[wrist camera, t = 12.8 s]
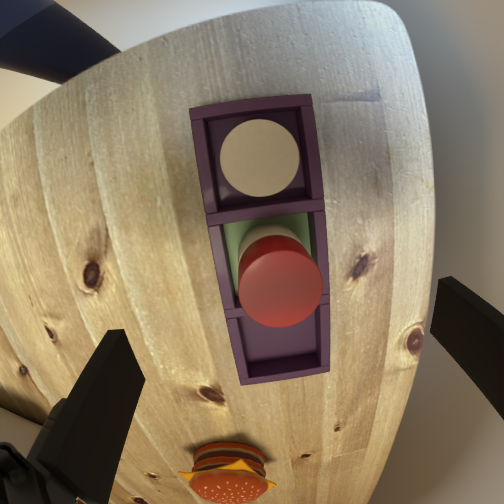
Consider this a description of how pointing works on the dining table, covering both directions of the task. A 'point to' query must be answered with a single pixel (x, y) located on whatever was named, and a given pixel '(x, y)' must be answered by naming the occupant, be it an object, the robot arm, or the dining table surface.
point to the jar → (18, 431)
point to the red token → (278, 282)
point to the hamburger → (228, 473)
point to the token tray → (257, 212)
